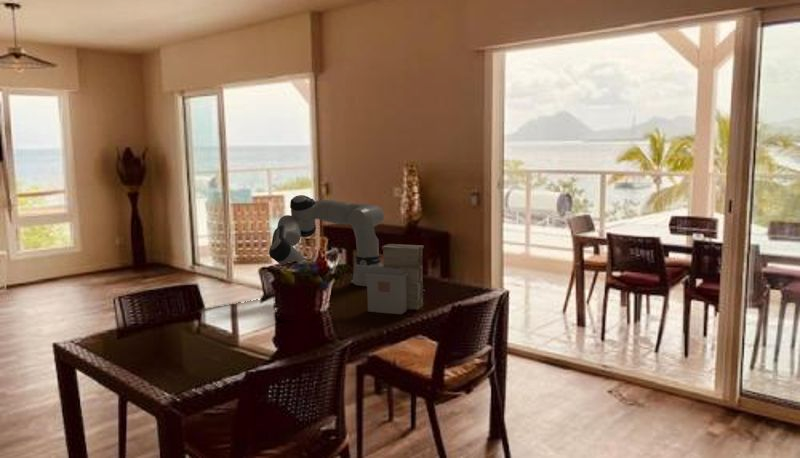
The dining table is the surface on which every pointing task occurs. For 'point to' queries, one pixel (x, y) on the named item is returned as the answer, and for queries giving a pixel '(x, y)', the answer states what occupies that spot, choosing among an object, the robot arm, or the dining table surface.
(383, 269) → the bar
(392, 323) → the dining table surface
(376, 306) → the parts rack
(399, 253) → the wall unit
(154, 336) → the dining table surface
